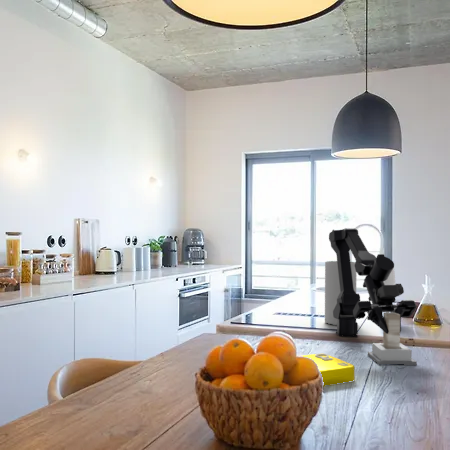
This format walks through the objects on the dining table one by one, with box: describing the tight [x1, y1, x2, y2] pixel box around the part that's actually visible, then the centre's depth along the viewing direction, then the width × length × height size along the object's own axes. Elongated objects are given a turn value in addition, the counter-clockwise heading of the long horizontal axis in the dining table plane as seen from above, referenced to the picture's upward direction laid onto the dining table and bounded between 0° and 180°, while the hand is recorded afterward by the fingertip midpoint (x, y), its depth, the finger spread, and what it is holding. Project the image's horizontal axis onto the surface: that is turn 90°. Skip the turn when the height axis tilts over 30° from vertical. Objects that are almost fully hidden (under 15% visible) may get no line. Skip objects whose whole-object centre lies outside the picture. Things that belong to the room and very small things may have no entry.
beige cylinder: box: [382, 312, 401, 349], centre depth 152 cm, size 4×4×12 cm
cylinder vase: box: [324, 260, 357, 326], centre depth 208 cm, size 12×12×25 cm
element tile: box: [302, 352, 356, 387], centre depth 135 cm, size 15×15×5 cm
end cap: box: [367, 342, 418, 366], centre depth 152 cm, size 11×11×4 cm
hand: (393, 332), depth 151 cm, fingers closed on beige cylinder, 3 cm apart
